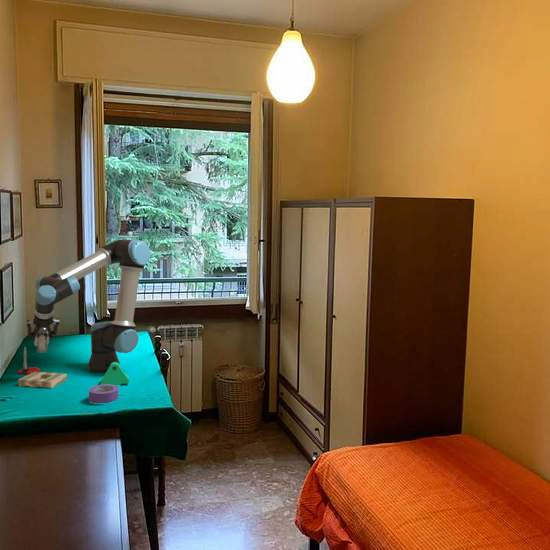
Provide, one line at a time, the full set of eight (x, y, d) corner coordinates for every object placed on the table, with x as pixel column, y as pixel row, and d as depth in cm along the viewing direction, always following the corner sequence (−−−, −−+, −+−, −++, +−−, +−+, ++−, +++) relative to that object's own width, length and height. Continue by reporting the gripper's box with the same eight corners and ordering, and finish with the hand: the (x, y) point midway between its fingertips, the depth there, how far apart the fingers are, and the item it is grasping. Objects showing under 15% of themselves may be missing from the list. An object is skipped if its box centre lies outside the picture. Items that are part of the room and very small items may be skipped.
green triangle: (129, 380, 251) (128, 358, 250) (128, 385, 244) (128, 363, 243) (102, 382, 248) (101, 360, 247) (100, 387, 241) (100, 364, 240)
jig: (66, 380, 249) (66, 374, 249) (51, 388, 238) (51, 382, 237) (35, 378, 252) (35, 371, 252) (18, 386, 240) (18, 379, 240)
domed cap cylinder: (50, 350, 249) (50, 327, 248) (43, 353, 244) (43, 329, 243) (40, 350, 250) (40, 326, 249) (33, 352, 245) (33, 328, 244)
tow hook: (27, 369, 267) (16, 373, 258) (27, 343, 267) (15, 347, 257) (43, 370, 266) (32, 375, 257) (43, 344, 265) (32, 348, 256)
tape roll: (124, 400, 225) (124, 388, 225) (98, 407, 216) (98, 395, 216) (108, 393, 233) (108, 382, 232) (83, 400, 224) (83, 388, 224)
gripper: (22, 321, 227) (20, 351, 243) (66, 319, 236) (62, 348, 252) (21, 307, 232) (20, 337, 248) (64, 305, 240) (60, 334, 256)
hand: (41, 342), depth 250 cm, fingers closed on domed cap cylinder, 4 cm apart
